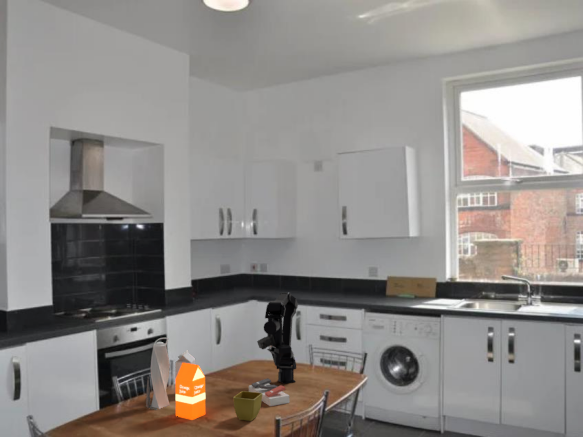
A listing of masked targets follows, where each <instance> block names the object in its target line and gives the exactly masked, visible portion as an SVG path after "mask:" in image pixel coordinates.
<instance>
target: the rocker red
mask: <svg viewBox="0 0 583 437" xmlns="http://www.w3.org/2000/svg"><path fill="white" fill-rule="evenodd" d="M277 386H278V385H277ZM285 390H286V387H285V386H284V385H282V384H281V385H279V386H278V387H276V388H274V389H272V390H270V391H268V392H266V393H265V395H266V396H268V397H271V396H273V395H275V394H277V393H279V392H281V391H282V392H284V391H285Z"/></svg>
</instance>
